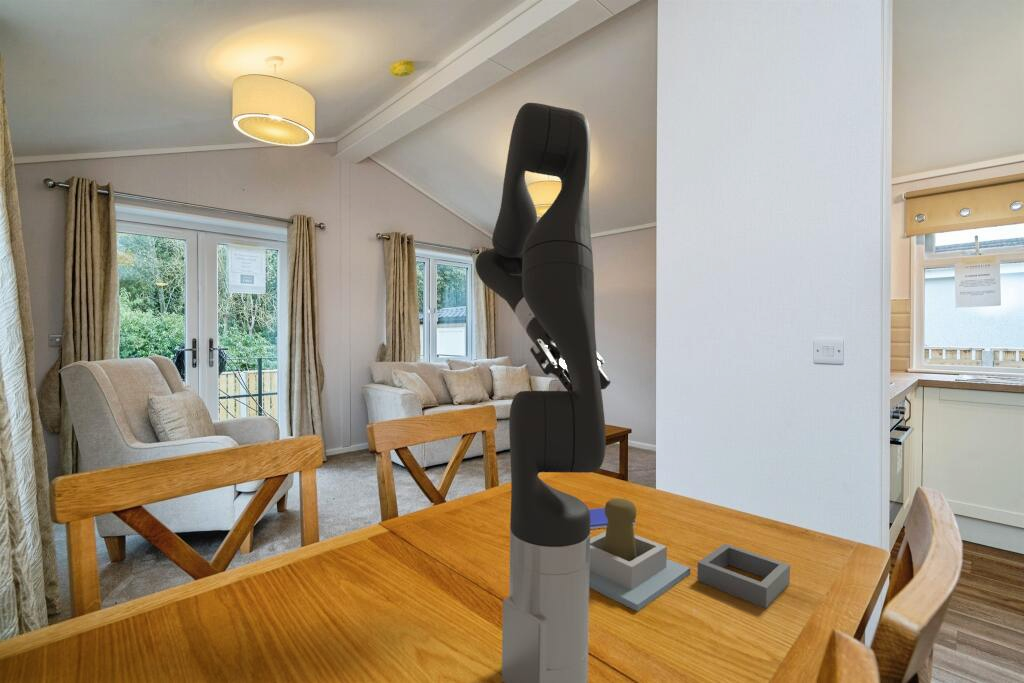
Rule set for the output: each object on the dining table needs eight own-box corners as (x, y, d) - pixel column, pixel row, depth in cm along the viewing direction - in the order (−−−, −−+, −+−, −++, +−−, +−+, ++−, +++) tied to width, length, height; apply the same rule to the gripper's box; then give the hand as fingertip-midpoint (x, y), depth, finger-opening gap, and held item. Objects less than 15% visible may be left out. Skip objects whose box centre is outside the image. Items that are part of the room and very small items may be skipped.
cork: (611, 577, 76) (612, 508, 76) (595, 559, 82) (596, 496, 82) (645, 572, 78) (646, 505, 77) (626, 555, 83) (627, 493, 83)
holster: (766, 608, 70) (766, 588, 69) (697, 580, 77) (697, 562, 77) (789, 583, 77) (790, 564, 77) (724, 560, 84) (724, 543, 84)
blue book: (617, 505, 107) (565, 510, 104) (635, 519, 99) (580, 525, 96) (617, 512, 107) (565, 517, 104) (635, 527, 99) (580, 533, 96)
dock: (637, 611, 68) (638, 580, 68) (554, 569, 80) (554, 543, 80) (690, 573, 79) (690, 547, 79) (610, 541, 91) (610, 518, 91)
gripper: (525, 304, 82) (577, 376, 73) (578, 307, 91) (628, 371, 83) (504, 334, 86) (551, 406, 77) (557, 335, 95) (603, 398, 87)
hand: (591, 388), depth 80 cm, fingers open, 8 cm apart
